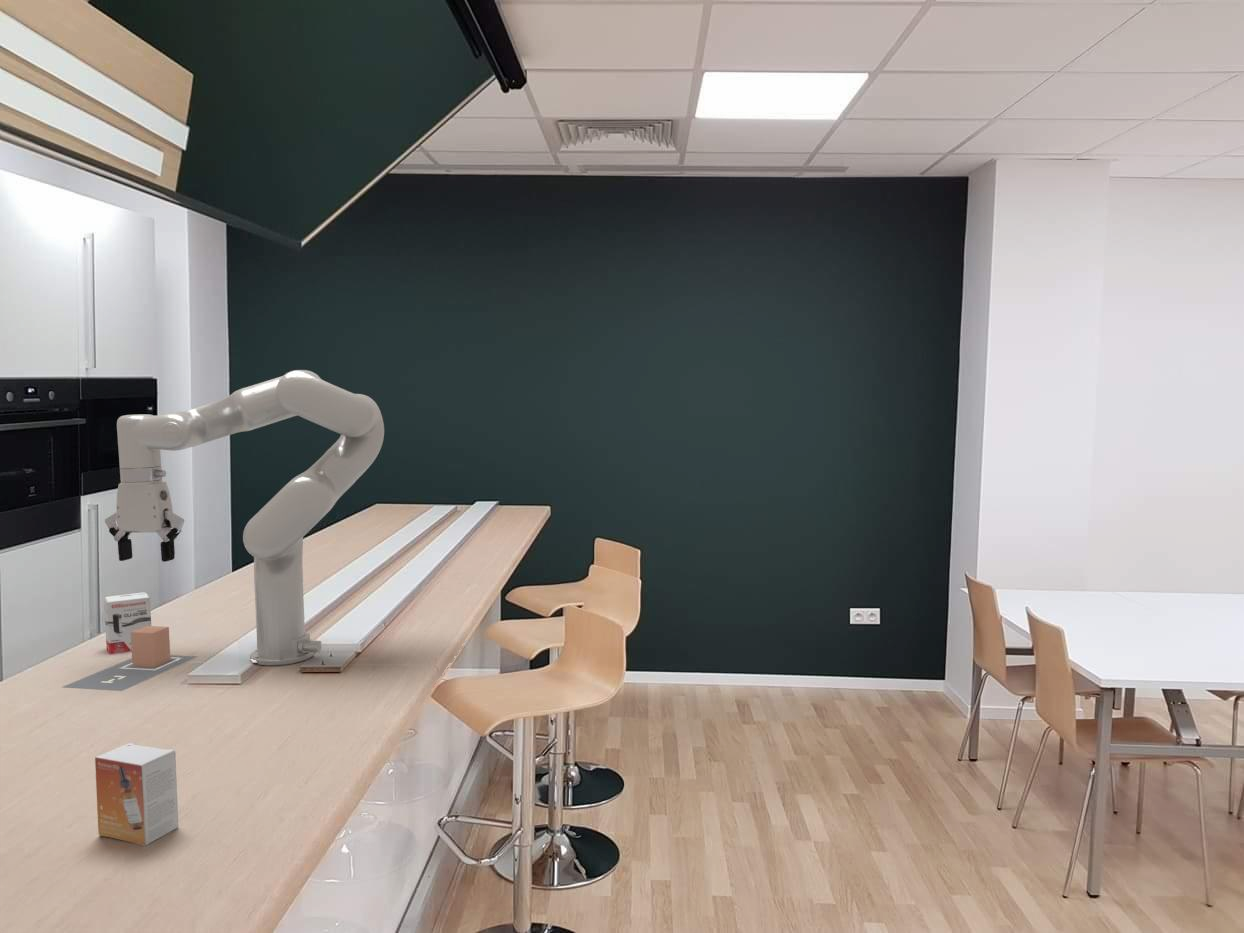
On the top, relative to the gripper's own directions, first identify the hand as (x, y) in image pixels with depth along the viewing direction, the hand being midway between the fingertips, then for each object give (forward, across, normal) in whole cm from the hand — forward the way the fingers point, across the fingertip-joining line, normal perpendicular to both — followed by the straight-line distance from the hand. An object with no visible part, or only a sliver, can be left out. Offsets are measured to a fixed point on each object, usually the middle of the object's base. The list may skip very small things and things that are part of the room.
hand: (147, 560), depth 200 cm
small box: (+22, -48, +67) cm, 85 cm away
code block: (+21, 0, 0) cm, 21 cm away
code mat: (+22, 0, +6) cm, 22 cm away
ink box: (+22, +12, -9) cm, 27 cm away
